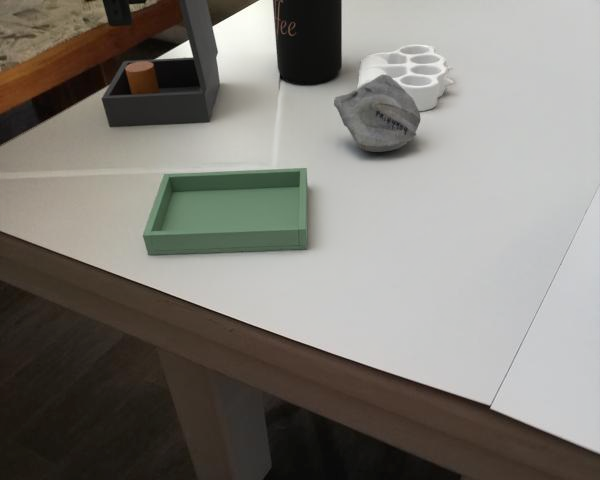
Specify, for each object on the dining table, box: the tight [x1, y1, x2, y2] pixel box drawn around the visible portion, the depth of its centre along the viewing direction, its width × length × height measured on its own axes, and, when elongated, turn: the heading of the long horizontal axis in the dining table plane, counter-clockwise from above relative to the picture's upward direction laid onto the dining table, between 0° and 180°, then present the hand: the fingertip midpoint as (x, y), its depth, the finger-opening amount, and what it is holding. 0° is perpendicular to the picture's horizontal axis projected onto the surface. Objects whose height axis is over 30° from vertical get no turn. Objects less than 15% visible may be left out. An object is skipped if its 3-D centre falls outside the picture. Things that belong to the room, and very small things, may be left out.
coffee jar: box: [272, 0, 343, 86], centre depth 92 cm, size 11×11×18 cm
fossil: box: [333, 75, 421, 153], centre depth 77 cm, size 11×9×8 cm
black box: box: [101, 56, 221, 128], centre depth 90 cm, size 15×15×5 cm
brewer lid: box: [178, 0, 219, 90], centre depth 81 cm, size 16×15×5 cm
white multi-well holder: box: [356, 43, 456, 112], centre depth 91 cm, size 3×18×15 cm
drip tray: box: [142, 167, 309, 256], centre depth 68 cm, size 18×14×2 cm
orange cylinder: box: [125, 61, 160, 95], centre depth 89 cm, size 4×4×6 cm
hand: (129, 13), depth 82 cm, fingers open, 9 cm apart
